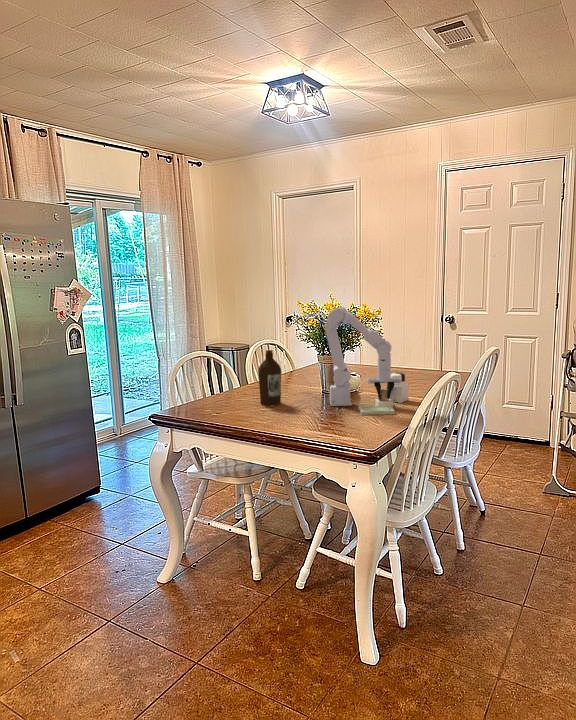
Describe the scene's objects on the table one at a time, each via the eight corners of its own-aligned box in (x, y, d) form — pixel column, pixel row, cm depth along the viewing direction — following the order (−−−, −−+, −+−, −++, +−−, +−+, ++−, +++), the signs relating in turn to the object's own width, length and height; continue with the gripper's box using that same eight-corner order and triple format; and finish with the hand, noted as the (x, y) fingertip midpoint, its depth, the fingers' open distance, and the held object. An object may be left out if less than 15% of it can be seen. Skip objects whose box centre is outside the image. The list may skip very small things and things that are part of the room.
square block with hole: (377, 408, 237) (377, 402, 237) (375, 404, 244) (375, 398, 243) (392, 407, 237) (392, 401, 237) (389, 404, 244) (389, 398, 243)
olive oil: (255, 403, 252) (253, 350, 248) (274, 399, 258) (272, 348, 254) (266, 407, 243) (265, 352, 239) (286, 404, 249) (285, 350, 245)
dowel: (381, 407, 239) (381, 390, 238) (380, 405, 242) (380, 389, 241) (387, 407, 239) (387, 390, 238) (386, 405, 242) (386, 389, 241)
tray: (361, 414, 227) (361, 411, 226) (358, 409, 237) (358, 406, 236) (394, 414, 227) (394, 410, 227) (390, 408, 237) (390, 405, 236)
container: (393, 398, 256) (393, 371, 254) (408, 400, 252) (409, 372, 250) (386, 401, 250) (386, 373, 248) (401, 403, 246) (401, 375, 244)
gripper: (369, 370, 234) (369, 401, 236) (402, 370, 234) (402, 400, 236) (366, 368, 241) (366, 397, 243) (399, 367, 241) (398, 397, 243)
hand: (383, 398), depth 240 cm, fingers open, 3 cm apart
